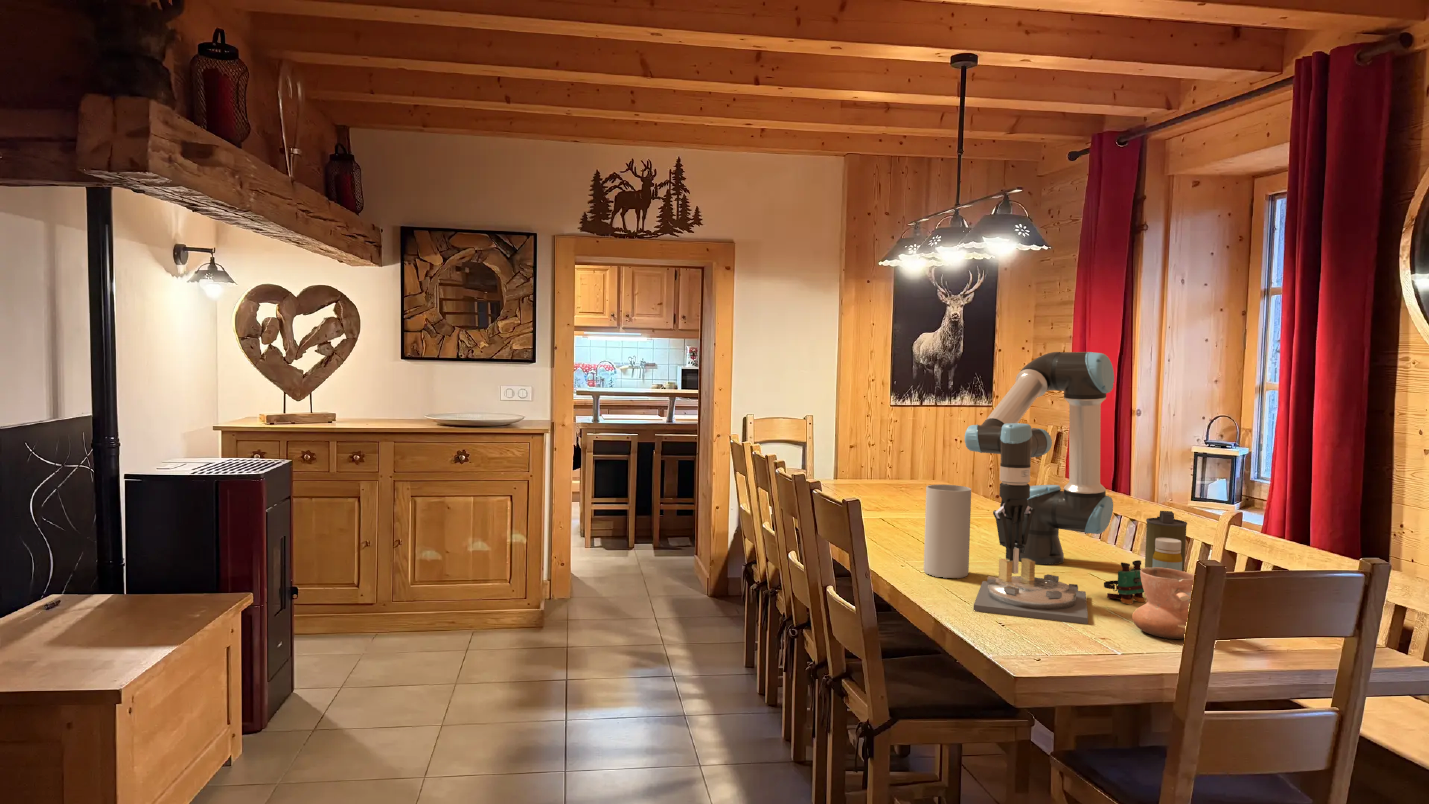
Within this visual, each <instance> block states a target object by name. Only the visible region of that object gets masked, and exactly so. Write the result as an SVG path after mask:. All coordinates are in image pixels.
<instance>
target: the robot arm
mask: <svg viewBox="0 0 1429 804" xmlns="http://www.w3.org/2000/svg"><path fill="white" fill-rule="evenodd" d="M1114 383H1115V372H1114V367H1113V364H1112V361H1111V360H1110V357H1109V356H1108V355H1107V354H1105V353H1102V352H1095V351H1094V352H1092V351H1077V352H1076V351H1068V352H1067V351H1066V352H1064V351H1053V352H1048V353H1045V354H1042V355H1040V356H1038V357H1036V358H1035V359H1033V360H1031V361H1030V362H1028V363H1027V364H1026V365H1024V367H1023V368H1022V369H1021V370H1020V371H1019V372H1018V373H1017V375H1016V377H1015V383H1014V384H1013V385H1012V386H1011V387H1010V389H1009V390H1008V391H1007V393H1006V394H1005V395H1004V396H1003V397H1002V399H1001V400H1000V401H999V402H998V404H997V405H996V406H995V408H993V410H992V411H991V413H989V415H988V417H987V418H986V419H985V420H984V421H983V422H982V424H978V423H977V424H972V425H969V426H968V427H967V429H965V433H964V444H965V447H966V448H967V450H969V451H970V452H976V453H981V454H996V455H1000V463H999V465H1000V466H999V481H1000V483H999V497H1000V499H1001V502H1000V504H999V506H1000V507H999V508H998V509H997V510H995V509H994V510H993V511H992V514H993V516H994V518H995V523H996V528H997V529H996V531H997V535H998V542H999V545H1000V546H1002V547H1004V548H1005V559H1006V560H1008V561H1011V562H1012V575H1013V574H1015V575H1016V574H1019V564H1020V563H1019V562H1022V558H1028V559H1030V560H1033V561H1035V565H1058V564H1063V562H1064V561H1065V557H1064V551H1063V547H1062V544H1061V540H1060V537H1059V533H1060V532H1059V531H1060V530H1064V531H1071V532H1077V533H1084V534H1092V535H1093V534H1094V535H1100V534H1102V533H1104V532H1105V531H1106V530H1107V528H1108V527H1109V525H1110V523H1111V520H1112V516H1113V511H1114V501H1113V498H1112V497H1111V496H1109V495H1107V494H1106V493H1107V491H1106V490H1107V489H1106V487H1104V485H1103V484H1101V420H1102V419H1101V413H1102V412H1101V411H1102V409H1101V407H1102V406H1101V404H1102V403H1103V402H1104V401H1105V400H1106V399H1107V394H1108V393H1111V392H1112V390H1113V388H1114ZM1048 391H1058V392H1063V399H1064V400H1065V401H1066V402H1067V403H1068V405H1069V406H1068V409H1069V410H1068V413H1069V415H1068V416H1069V417H1068V419H1069V420H1068V422H1069V423H1068V425H1069V427H1068V428H1069V429H1068V430H1069V431H1068V435H1069V437H1068V438H1069V439H1068V441H1069V443H1068V448H1069V451H1068V453H1069V454H1068V457H1069V458H1068V461H1069V462H1068V466H1069V467H1068V473H1069V474H1068V480H1069V481H1068V482H1067V484H1065V485H1064V487H1063V490H1062V488H1061V486H1060V485H1059V484H1043V485H1042V484H1039V485H1030V484H1029V483H1030V482H1031V461H1032V458H1040V457H1041V456H1043V455H1046V454H1047V453H1049V452H1050V450H1051V449H1052V446H1053V439H1052V436H1051V435H1050V433H1049V431H1047V430H1045V429H1043V428H1037V427H1032V426H1031V425H1030V424H1029V423H1019V422H1020V421H1021V419H1022V418H1023V417H1024V415H1026V413H1027V411H1028V410H1029V409H1030V408H1031V406H1032V405H1033V404H1034V402H1035V401H1036V400H1037V398H1040V397H1043V396H1044V395H1045V394H1046V392H1048Z"/></svg>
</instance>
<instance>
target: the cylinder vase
mask: <svg viewBox="0 0 1429 804" xmlns="http://www.w3.org/2000/svg"><path fill="white" fill-rule="evenodd" d="M971 509H972V488H970V487H968V486H963V485H956V484H930V485H926V487H925V518H924V519H925V520H924V550H923V551H924V552H923V553H924V554H923V571H924V573H925V574H926V575H928V574H929V575H928V576H930V575H932V577H934V576H935V577H934V578H938V577H943V578H942V579H947V578H957V579H963V578H966V577H967V576H968V575H969V568H970V567H969V566H970V540H971V539H970V536H971Z"/></svg>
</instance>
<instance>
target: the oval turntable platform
mask: <svg viewBox="0 0 1429 804" xmlns="http://www.w3.org/2000/svg"><path fill="white" fill-rule="evenodd" d="M1020 564H1021V567H1020V571H1021V572H1020V576H1019V575H1018V576H1017V575H1014V576H1013V573H1012V562H1011V561H1008V560H1006V558H999V560H998V577H996V576H989V575H988V576H987V580H986V581H987V584H989V591H988V595H989V597H991V598H992V599H994V600H996V601H998V602H1001V603H1004V604H1007V605H1011V606H1016V607H1022V608H1029V609H1040V610H1058V609H1066V608H1070V607H1073V606H1074V605H1075V604H1076V592H1078V591H1079V586H1078V584H1075V583H1068V584H1067V583H1065V582H1062V581H1059V579H1060V578H1059V577H1060V576H1057V575H1052V574H1044V575H1043V577H1035V573H1036V572H1035V571H1036V564H1035V561H1033V560H1030V559H1028V558H1022V561H1021V563H1020Z"/></svg>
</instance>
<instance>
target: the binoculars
mask: <svg viewBox="0 0 1429 804" xmlns="http://www.w3.org/2000/svg"><path fill="white" fill-rule="evenodd" d="M1131 562H1132V565H1133V568H1131V569H1130V567H1131V563H1126V562H1123V561H1121V562H1120V566H1121V570H1118V572H1117V580H1109V581H1108V580H1107V581H1104V582H1103V588H1105V589H1108V590H1112V591H1113V592H1117V593H1110V592H1109V593H1106V595H1107V596H1106V597H1107V598H1108V599H1118V600H1120V602H1121V603H1123V604H1126V605H1133V603H1134V602H1133V601H1135V602H1139V603H1145V601H1146V600H1145V596H1144V594H1143V593H1145V592H1144V589H1143V586H1142V582H1141V575H1140V570H1141V569H1142V568H1141V565H1142V560H1140V559H1139V560H1138V559H1137V560H1133V561H1131Z"/></svg>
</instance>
